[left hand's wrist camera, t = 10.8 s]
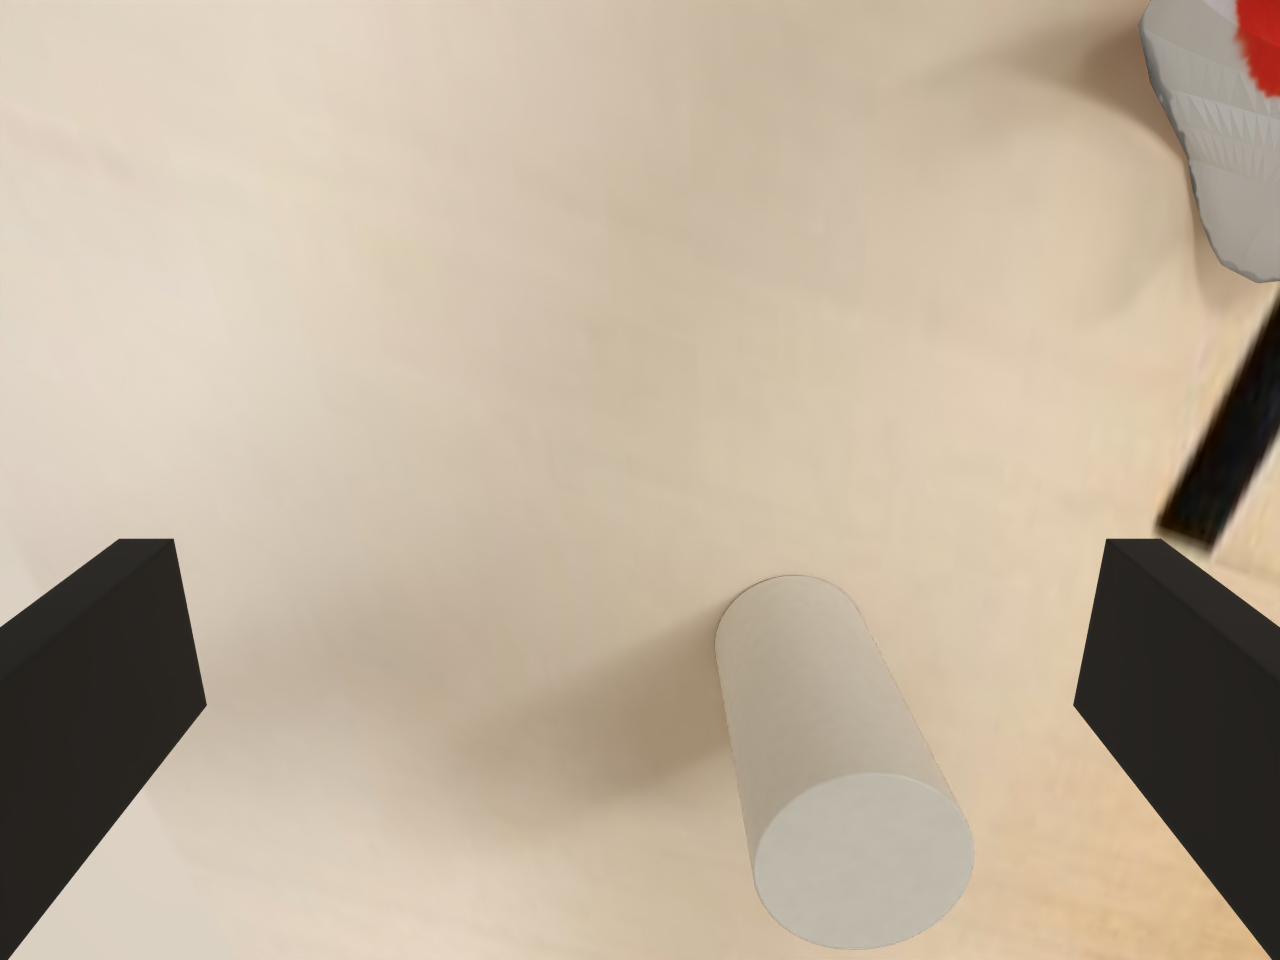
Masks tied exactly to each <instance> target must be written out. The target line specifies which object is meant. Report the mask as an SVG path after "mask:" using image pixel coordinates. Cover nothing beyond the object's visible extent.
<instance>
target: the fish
mask: <svg viewBox="0 0 1280 960" xmlns="http://www.w3.org/2000/svg"><path fill="white" fill-rule="evenodd" d="M1138 26H1139V31H1140V36H1141V40H1142V45H1143V50H1144V54H1145V59H1146V64H1147V68H1148V73H1149V78H1150V82H1151V85H1152V87H1153V89H1154V91H1155V93H1156V95H1157V97H1158V99H1159V101H1160V103H1161V105H1162V107H1163V109H1164V110H1165V112H1166V114H1167V116H1168V118H1169V120H1170V122H1171V124H1172V126H1173V128H1174V131H1175V133H1176V135H1177V137H1178V139H1179V141H1180V143H1181V145H1182V147H1183V149H1184V151H1185V153H1186V155H1187V158H1188V163H1189V169H1190V176H1191V182H1192V188H1193V192H1194V196H1195V200H1196V203H1197V207H1198V210H1199V214H1200V217H1201V221H1202V223H1203V226H1204V229H1205V232H1206V234H1207V237H1208V240H1209V243H1210V245H1211V247H1212V249H1213V251H1214V253H1215V254H1216V256H1217V258H1218V260H1219V261H1220V263H1221V264H1222V265H1223V266H1225V267H1227V268H1229V269H1231V270H1233V271H1234V272H1236V273H1238V274H1240V275H1242V276H1244V277H1246V278H1248V279H1250V280H1252V281H1254V282H1256V283H1265V282H1274V281H1280V0H1151V1H1150V3H1149V5H1148V7H1147V9H1146V10H1145V12H1144V14H1143V16H1142V18H1141V20H1140V22H1139V24H1138Z"/></svg>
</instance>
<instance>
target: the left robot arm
mask: <svg viewBox="0 0 1280 960" xmlns="http://www.w3.org/2000/svg"><path fill="white" fill-rule="evenodd" d="M206 706H207V704H206V699H205V694H204V689H203V684H202V679H201V674H200V669H199V664H198V659H197V654H196V649H195V644H194V639H193V634H192V629H191V624H190V619H189V614H188V609H187V603H186V598H185V593H184V588H183V583H182V578H181V573H180V568H179V563H178V558H177V553H176V548H175V543H174V539H118V540H117V541H116V542H114V543H113V544H112V545H110V546H109V547H108V548H106V549H105V550H103V551H102V552H101V553H99V554H98V555H97V556H95V557H94V558H93V559H91V560H90V561H89V562H87V563H86V564H85V565H83V566H82V567H81V568H79V569H78V570H77V571H75V572H74V573H73V574H71V575H70V576H69V577H67V578H66V579H65V580H63V581H62V582H60V583H59V584H58V585H56V586H55V587H54V588H52V589H51V590H50V591H48V592H47V593H46V594H44V595H43V596H42V597H40V598H39V599H38V600H36V601H35V602H34V603H32V604H31V605H30V606H28V607H27V608H26V609H24V610H23V611H22V612H20V613H19V614H18V615H16V616H15V617H14V618H12V619H11V620H9V621H8V622H7V623H5V624H4V625H3V626H1V627H0V960H8V959H9V958H10V956H11V955H12V954H13V953H14V951H15V950H16V949H17V947H18V946H19V945H20V944H21V942H22V941H23V940H24V938H25V937H26V936H27V935H28V933H29V932H30V931H31V929H32V928H33V927H34V926H35V924H36V923H37V922H38V921H39V919H40V918H41V917H42V915H43V914H44V913H45V912H46V910H47V909H48V908H49V906H50V905H51V904H52V903H53V901H54V900H55V899H56V897H57V896H58V895H59V894H60V892H61V891H62V890H63V889H64V887H65V886H66V885H67V883H68V882H69V881H70V880H71V878H72V877H73V876H74V874H75V873H76V872H77V871H78V869H79V868H80V867H81V866H82V864H83V863H84V862H85V860H86V859H87V858H88V857H89V855H90V854H91V853H92V851H93V850H94V849H95V848H96V846H97V845H98V844H99V843H100V841H101V840H102V839H103V837H104V836H105V835H106V834H107V832H108V831H109V830H110V828H111V827H112V826H113V825H114V823H115V822H116V821H117V819H118V818H119V817H120V816H121V814H122V813H123V812H124V810H125V809H126V808H127V807H128V805H129V804H130V803H131V802H132V800H133V799H134V798H135V796H136V795H137V794H138V793H139V791H140V790H141V789H142V788H143V786H144V785H145V784H146V782H147V781H148V780H149V779H150V777H151V776H152V775H153V773H154V772H155V771H156V770H157V768H158V767H159V766H160V764H161V763H162V762H163V761H164V759H165V758H166V757H167V756H168V754H169V753H170V752H171V750H172V749H173V748H174V747H175V745H176V744H177V743H178V741H179V740H180V739H181V738H182V736H183V735H184V734H185V733H186V731H187V730H188V729H189V727H190V726H191V725H192V724H193V722H194V721H195V720H196V718H197V717H198V716H199V715H200V713H201V712H202V711H203V709H204V708H205V707H206ZM1073 706H1074V707H1075V708H1076V709H1077V711H1078V712H1079V713H1080V715H1081V716H1082V717H1083V718H1084V720H1085V721H1086V722H1087V724H1088V725H1089V726H1090V727H1091V729H1092V730H1093V731H1094V733H1095V734H1096V735H1097V736H1098V738H1099V739H1100V740H1101V741H1102V743H1103V744H1104V745H1105V747H1106V748H1107V749H1108V750H1109V752H1110V753H1111V754H1112V756H1113V757H1114V758H1115V759H1116V761H1117V762H1118V763H1119V765H1120V766H1121V767H1122V768H1123V770H1124V771H1125V772H1126V773H1127V775H1128V776H1129V777H1130V779H1131V780H1132V781H1133V782H1134V784H1135V785H1136V786H1137V788H1138V789H1139V790H1140V791H1141V793H1142V794H1143V795H1144V796H1145V798H1146V799H1147V800H1148V802H1149V803H1150V804H1151V805H1152V807H1153V808H1154V809H1155V811H1156V812H1157V813H1158V814H1159V816H1160V817H1161V818H1162V820H1163V821H1164V822H1165V823H1166V825H1167V826H1168V827H1169V828H1170V830H1171V831H1172V832H1173V834H1174V835H1175V836H1176V837H1177V839H1178V840H1179V841H1180V843H1181V844H1182V845H1183V846H1184V848H1185V849H1186V850H1187V851H1188V853H1189V854H1190V855H1191V857H1192V858H1193V859H1194V860H1195V862H1196V863H1197V864H1198V866H1199V867H1200V868H1201V869H1202V871H1203V872H1204V873H1205V875H1206V876H1207V877H1208V878H1209V880H1210V881H1211V882H1212V883H1213V885H1214V886H1215V887H1216V889H1217V890H1218V891H1219V892H1220V894H1221V895H1222V896H1223V898H1224V899H1225V900H1226V901H1227V903H1228V904H1229V905H1230V906H1231V908H1232V909H1233V910H1234V912H1235V913H1236V914H1237V915H1238V917H1239V918H1240V919H1241V921H1242V922H1243V923H1244V924H1245V926H1246V927H1247V928H1248V930H1249V931H1250V932H1251V933H1252V935H1253V936H1254V937H1255V938H1256V940H1257V941H1258V942H1259V944H1260V945H1261V946H1262V947H1263V949H1264V950H1265V951H1266V953H1267V954H1268V955H1269V956H1270V958H1271V959H1272V960H1280V627H1279V626H1277V625H1276V624H1275V623H1273V622H1272V621H1271V620H1269V619H1268V618H1267V617H1265V616H1264V615H1263V614H1261V613H1260V612H1258V611H1257V610H1256V609H1254V608H1253V607H1252V606H1250V605H1249V604H1248V603H1246V602H1245V601H1244V600H1242V599H1241V598H1240V597H1238V596H1237V595H1236V594H1234V593H1233V592H1232V591H1230V590H1229V589H1228V588H1226V587H1225V586H1224V585H1222V584H1221V583H1220V582H1218V581H1217V580H1215V579H1214V578H1213V577H1211V576H1210V575H1209V574H1207V573H1206V572H1205V571H1203V570H1202V569H1201V568H1199V567H1198V566H1197V565H1195V564H1194V563H1193V562H1191V561H1190V560H1189V559H1187V558H1186V557H1185V556H1183V555H1182V554H1181V553H1179V552H1178V551H1177V550H1175V549H1174V548H1172V547H1171V546H1170V545H1168V544H1167V543H1166V542H1164V541H1163V540H1162V539H1106V543H1105V548H1104V553H1103V558H1102V563H1101V568H1100V573H1099V578H1098V583H1097V588H1096V593H1095V598H1094V603H1093V608H1092V614H1091V619H1090V624H1089V629H1088V634H1087V639H1086V644H1085V649H1084V654H1083V659H1082V664H1081V669H1080V674H1079V679H1078V684H1077V689H1076V694H1075V699H1074V704H1073Z"/></svg>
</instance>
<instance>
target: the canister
mask: <svg viewBox="0 0 1280 960" xmlns="http://www.w3.org/2000/svg"><path fill="white" fill-rule="evenodd" d="M715 654H716V661H717V666H718V672H719V678H720V684H721V690H722V696H723V702H724V708H725V713H726V719H727V725H728V731H729V737H730V743H731V749H732V755H733V761H734V766H735V772H736V778H737V784H738V790H739V796H740V802H741V808H742V813H743V819H744V825H745V831H746V837H747V843H748V849H749V855H750V860H751V866H752V872H753V878H754V884H755V887H756V890H757V893H758V896H759V898H760V900H761V902H762V904H763V905H764V907H765V908H766V910H767V911H768V912H769V914H770V915H771V916H772V917H773V918H774V919H775V920H776V921H777V922H778V923H779V924H780V925H781V926H782V927H784V928H785V929H786V930H788V931H789V932H791V933H792V934H794V935H796V936H798V937H800V938H802V939H804V940H806V941H809V942H811V943H814V944H818V945H821V946H825V947H830V948H836V949H847V950H861V949H872V948H879V947H884V946H888V945H892V944H895V943H898V942H901V941H904V940H907V939H909V938H911V937H913V936H915V935H917V934H919V933H921V932H923V931H924V930H926V929H928V928H929V927H931V926H932V925H934V924H935V923H936V922H938V921H939V920H940V919H941V918H942V917H943V916H945V915H946V914H947V913H948V912H949V911H950V910H951V909H952V907H953V906H954V905H955V904H956V902H957V901H958V900H959V898H960V897H961V895H962V893H963V892H964V890H965V888H966V886H967V884H968V881H969V879H970V876H971V872H972V868H973V861H974V842H973V838H972V834H971V830H970V828H969V825H968V823H967V820H966V818H965V816H964V814H963V813H962V811H961V809H960V807H959V805H958V803H957V801H956V799H955V797H954V795H953V793H952V791H951V789H950V787H949V785H948V783H947V781H946V779H945V777H944V775H943V773H942V771H941V770H940V768H939V766H938V764H937V762H936V760H935V758H934V756H933V754H932V752H931V750H930V748H929V746H928V744H927V742H926V740H925V738H924V736H923V734H922V732H921V730H920V728H919V727H918V725H917V723H916V721H915V719H914V717H913V715H912V713H911V711H910V709H909V707H908V705H907V703H906V701H905V699H904V697H903V695H902V693H901V691H900V689H899V687H898V685H897V684H896V682H895V680H894V678H893V676H892V674H891V672H890V670H889V668H888V666H887V664H886V662H885V660H884V658H883V656H882V654H881V652H880V650H879V648H878V646H877V644H876V643H875V641H874V639H873V637H872V635H871V633H870V631H869V629H868V627H867V625H866V623H865V621H864V619H863V617H862V615H861V613H860V611H859V610H858V608H857V606H856V605H855V603H854V602H853V601H852V600H851V599H850V597H849V596H847V595H846V594H845V593H844V592H843V591H842V590H840V589H839V588H837V587H836V586H834V585H832V584H830V583H828V582H826V581H823V580H820V579H817V578H813V577H808V576H798V575H794V576H782V577H776V578H772V579H769V580H766V581H763V582H761V583H758V584H756V585H755V586H753V587H751V588H749V589H748V590H746V591H745V592H744V593H742V594H741V595H740V596H739V597H738V598H737V599H735V600H734V601H733V603H732V604H731V605H730V606H729V607H728V609H727V610H726V612H725V613H724V615H723V617H722V619H721V621H720V623H719V625H718V629H717V632H716V638H715Z"/></svg>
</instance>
